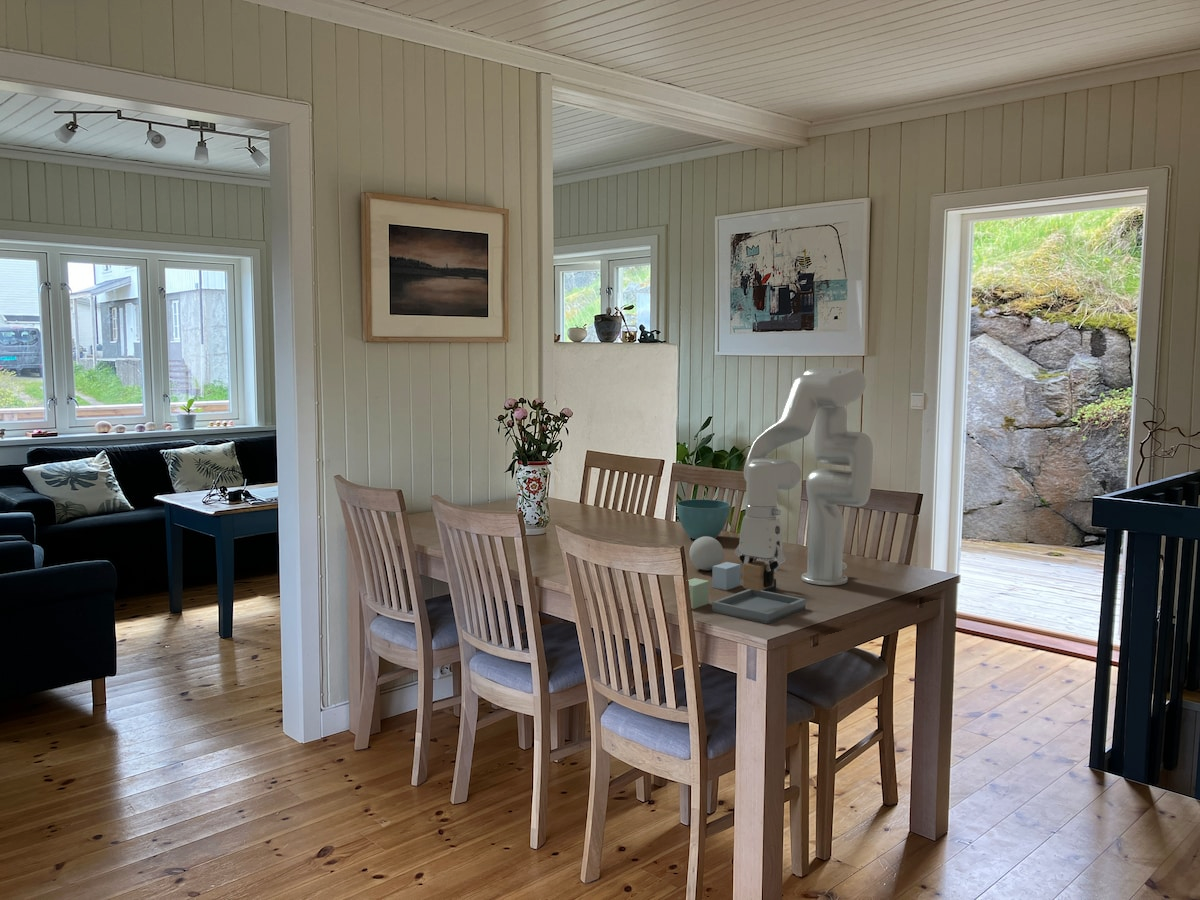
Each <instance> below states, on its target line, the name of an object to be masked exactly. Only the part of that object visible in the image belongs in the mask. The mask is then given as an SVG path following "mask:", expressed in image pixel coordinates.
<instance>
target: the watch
mask: <svg viewBox="0 0 1200 900" xmlns="http://www.w3.org/2000/svg"><path fill="white" fill-rule="evenodd" d="M777 559H778V557H774V560H775V561H776V560H777ZM757 560H763V561H764V559H762V558H756V557H755V559H754V561H757ZM779 568H780V565H779V566H778V567H777V568H776V569H775V570H774V576H775V575H776V573H777V571H778V569H779ZM763 591H768V592H776V591H777V579H776V578H775V577H774V586H773V587H770V588H767V589H764V590H763Z"/></svg>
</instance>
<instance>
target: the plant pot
mask: <svg viewBox="0 0 1200 900" xmlns="http://www.w3.org/2000/svg"><path fill="white" fill-rule="evenodd" d="M676 509H677V516H678V519H679V521H680V522H679V523H680V525H681V526H682V528H683V531H685V533H686V535H687V536H688V537H689V538H690V539H691V538H692V539H691V540H693V539H695V540H697V539H698V538H700V537H704V536H708V537H712V538H714V539H716V538H718V536H719V535H720V534H721V532H722V531H723V530H724V528H725V526H726V524H727V521H728V519H729V516H730V509H731V503H730V502H726V501H723V500H716V499H703V498H702V499H701V498H699V499H697V498H696V499H695V498H693V499H685V500H684V499H683V500H680V501H677V502H676ZM695 540H694V541H695Z"/></svg>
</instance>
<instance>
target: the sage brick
mask: <svg viewBox="0 0 1200 900" xmlns="http://www.w3.org/2000/svg"><path fill="white" fill-rule="evenodd" d="M687 580H688V581H689V590H690V598H691V603H692V607H693V609H692V610H694V609H697V608H700V607H703V606H706V605H708V604H710V602H709V601H710V581H709V580H708V579H707V580H705V579H702V578H696V577H694V578H691V579H687Z"/></svg>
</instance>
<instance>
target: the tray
mask: <svg viewBox="0 0 1200 900" xmlns="http://www.w3.org/2000/svg"><path fill="white" fill-rule="evenodd" d="M806 605H807V604H806V598H802V597H796V596H792V595H786V594H781V593H776V592H774V591H763V590H761V591H756V590H751V589H745V590H742V591H739V592H737V593H734V594H731V595H727V596H724V597H722V598H719V599H716V600H713V601H711V612H713V613H717V614H722V615H725V616H731V617H735V618H740V619H743V620H748V621H753V622H756V623H761V624H766V625H769V624H771V623H774V622H777V621H779V620H781V619H783V618H784V619H785V617H789V616H792V615H793V614H796V613H798V612H800V611H803V610H805V609H806Z"/></svg>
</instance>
